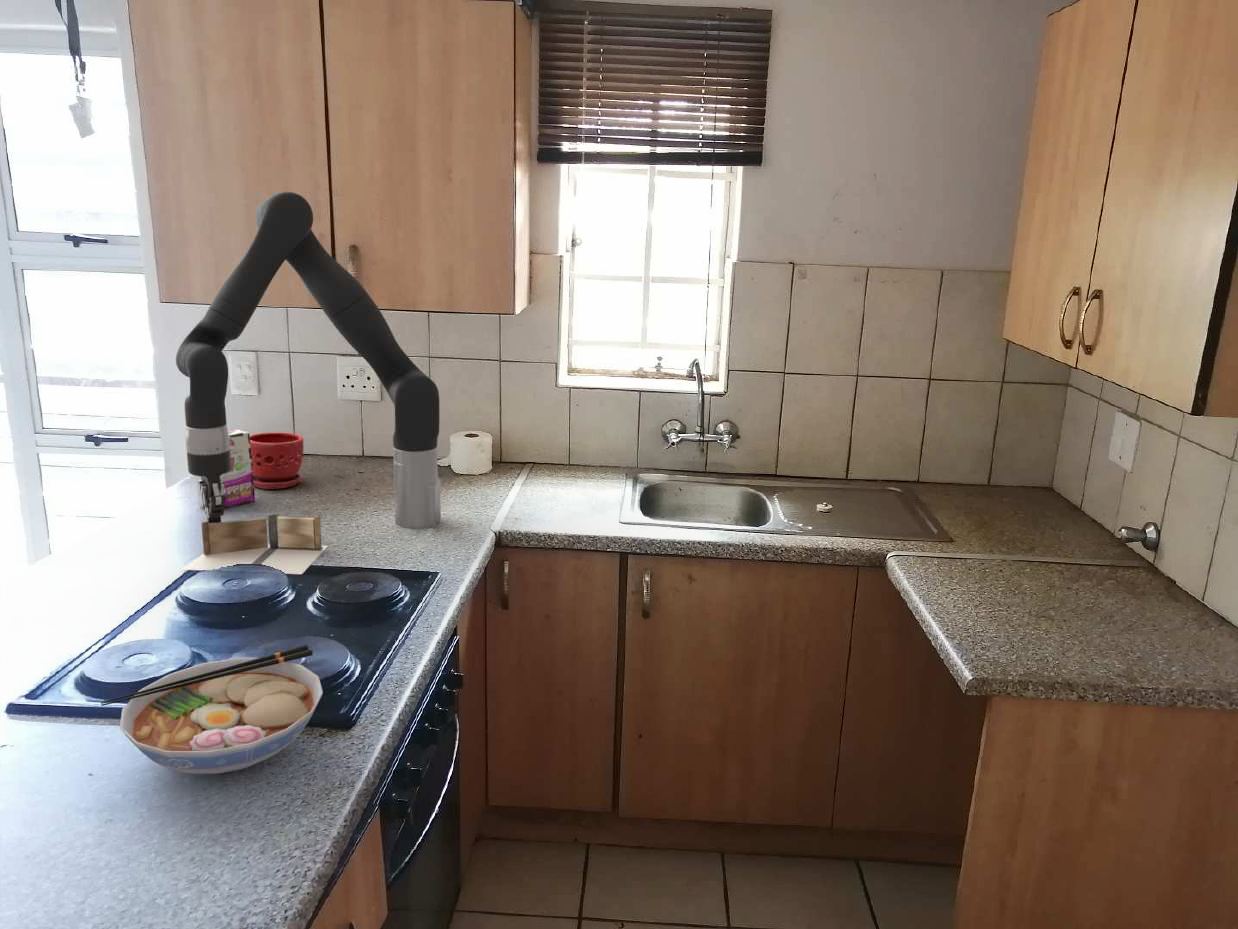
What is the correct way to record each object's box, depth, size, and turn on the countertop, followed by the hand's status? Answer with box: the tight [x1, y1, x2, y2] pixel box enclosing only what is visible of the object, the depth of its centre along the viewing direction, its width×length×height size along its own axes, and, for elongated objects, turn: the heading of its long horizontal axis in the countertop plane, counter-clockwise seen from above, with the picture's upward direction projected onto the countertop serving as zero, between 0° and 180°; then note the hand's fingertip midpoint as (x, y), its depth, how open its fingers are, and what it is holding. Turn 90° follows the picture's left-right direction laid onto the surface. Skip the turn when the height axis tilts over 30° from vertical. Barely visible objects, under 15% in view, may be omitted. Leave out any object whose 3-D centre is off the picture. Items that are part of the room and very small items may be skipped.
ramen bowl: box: [100, 644, 324, 775], centre depth 112 cm, size 25×23×8 cm
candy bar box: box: [195, 429, 256, 510], centre depth 205 cm, size 11×5×16 cm, turn 143°
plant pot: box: [249, 432, 304, 490], centre depth 222 cm, size 13×13×12 cm
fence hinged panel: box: [200, 516, 269, 555], centre depth 176 cm, size 12×1×6 cm, turn 117°
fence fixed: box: [267, 513, 323, 550], centre depth 180 cm, size 10×2×7 cm, turn 89°
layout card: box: [182, 543, 329, 575], centre depth 175 cm, size 22×15×1 cm
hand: (215, 533), depth 177 cm, fingers closed
